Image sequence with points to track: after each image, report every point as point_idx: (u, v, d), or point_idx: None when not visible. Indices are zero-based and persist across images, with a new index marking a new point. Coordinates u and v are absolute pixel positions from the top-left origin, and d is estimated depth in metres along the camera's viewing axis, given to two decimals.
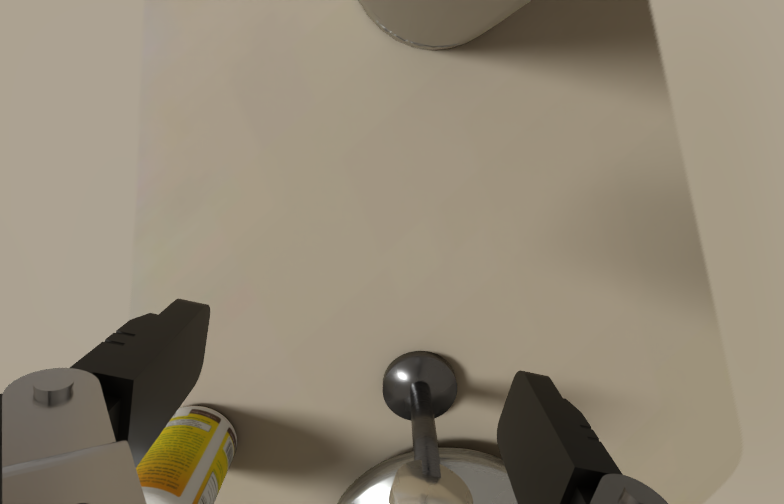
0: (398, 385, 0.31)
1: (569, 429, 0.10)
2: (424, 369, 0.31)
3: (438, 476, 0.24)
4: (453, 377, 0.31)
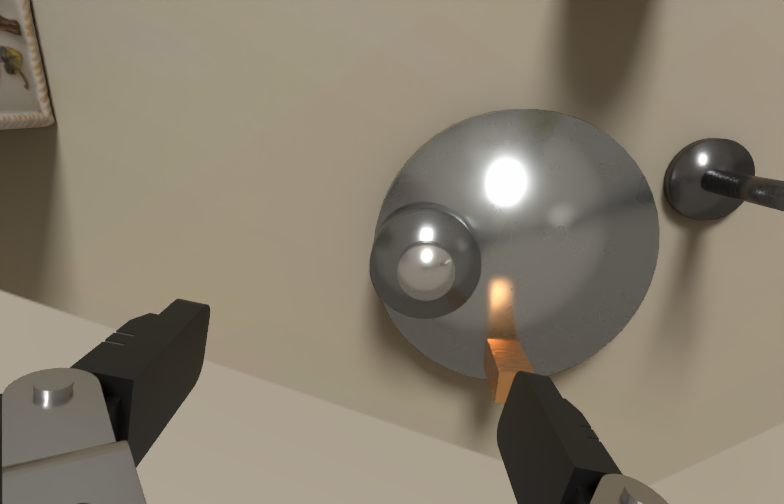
0: (718, 156, 0.28)
1: (569, 429, 0.10)
2: None
3: None
4: (728, 212, 0.29)
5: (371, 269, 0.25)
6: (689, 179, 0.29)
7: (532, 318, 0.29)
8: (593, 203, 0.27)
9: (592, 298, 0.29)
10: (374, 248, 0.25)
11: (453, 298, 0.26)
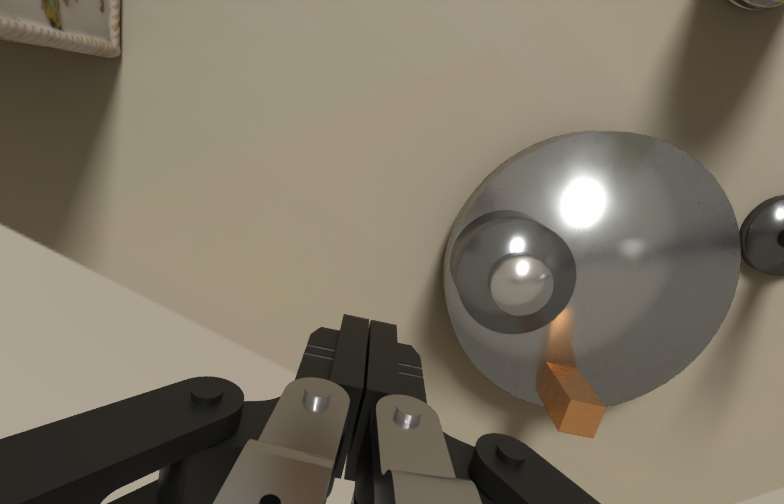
0: None
1: (384, 363, 0.10)
2: None
3: None
4: None
5: (460, 273, 0.24)
6: (767, 232, 0.29)
7: (595, 348, 0.28)
8: (682, 241, 0.27)
9: (659, 336, 0.28)
10: (469, 251, 0.23)
11: (538, 316, 0.24)
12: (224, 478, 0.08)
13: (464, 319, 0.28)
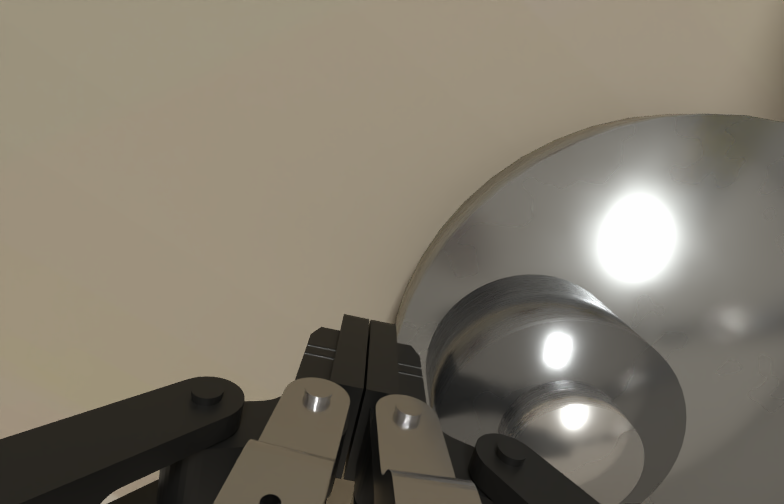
0: None
1: (384, 363, 0.10)
2: None
3: None
4: None
5: (440, 423, 0.11)
6: None
7: None
8: None
9: (778, 488, 0.16)
10: (457, 380, 0.11)
11: None
12: (224, 478, 0.08)
13: None
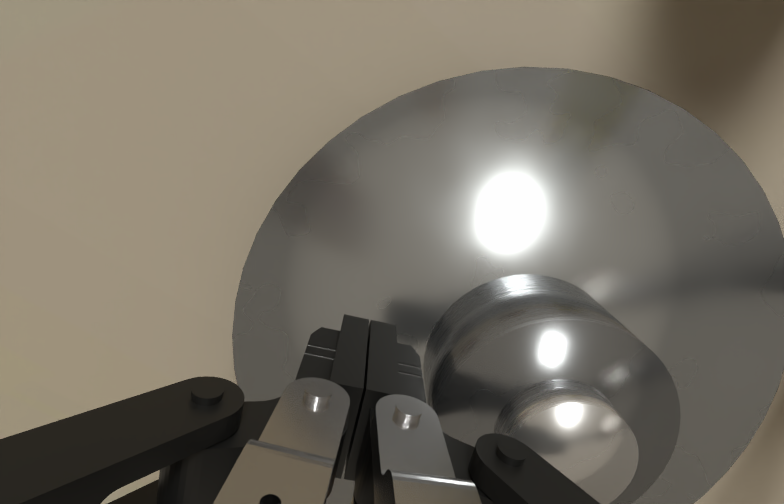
0: None
1: (384, 363, 0.10)
2: None
3: None
4: None
5: None
6: None
7: None
8: (680, 287, 0.14)
9: None
10: (455, 378, 0.11)
11: None
12: (225, 478, 0.08)
13: None
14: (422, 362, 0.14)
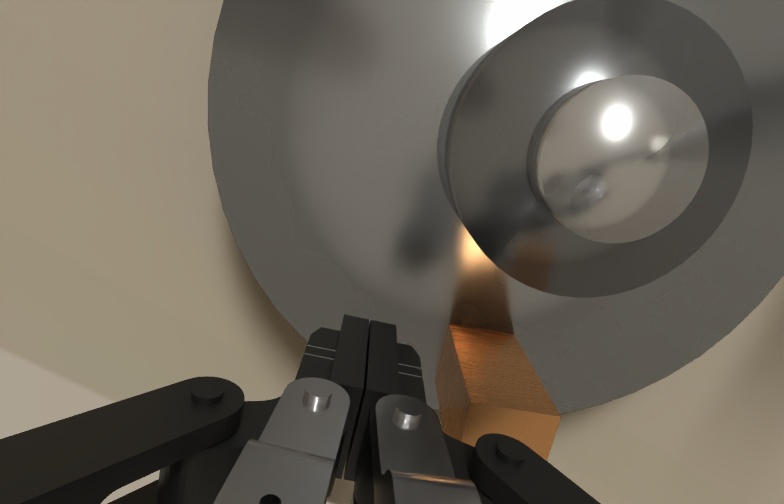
0: None
1: (384, 363, 0.10)
2: None
3: None
4: None
5: (457, 147, 0.09)
6: None
7: None
8: (725, 30, 0.12)
9: None
10: (475, 87, 0.09)
11: (652, 251, 0.10)
12: (224, 478, 0.08)
13: (265, 239, 0.13)
14: (429, 148, 0.12)
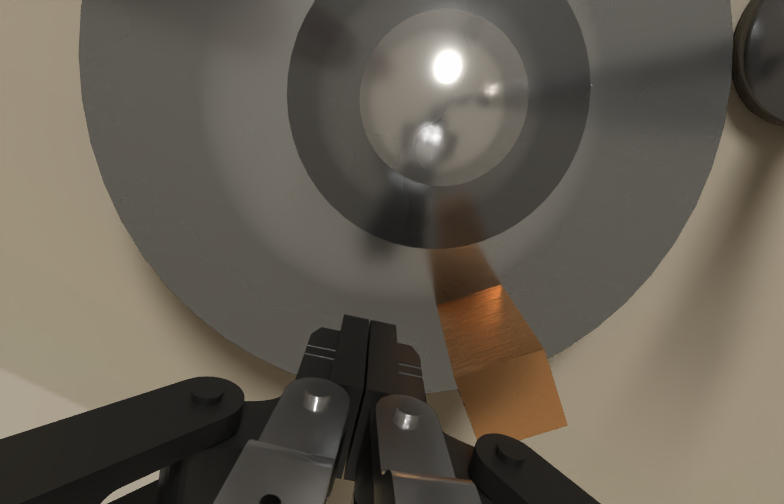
0: None
1: (383, 363, 0.10)
2: None
3: None
4: None
5: (309, 168, 0.10)
6: None
7: None
8: None
9: (615, 128, 0.13)
10: (291, 110, 0.09)
11: (542, 154, 0.10)
12: (225, 478, 0.08)
13: (241, 319, 0.14)
14: None
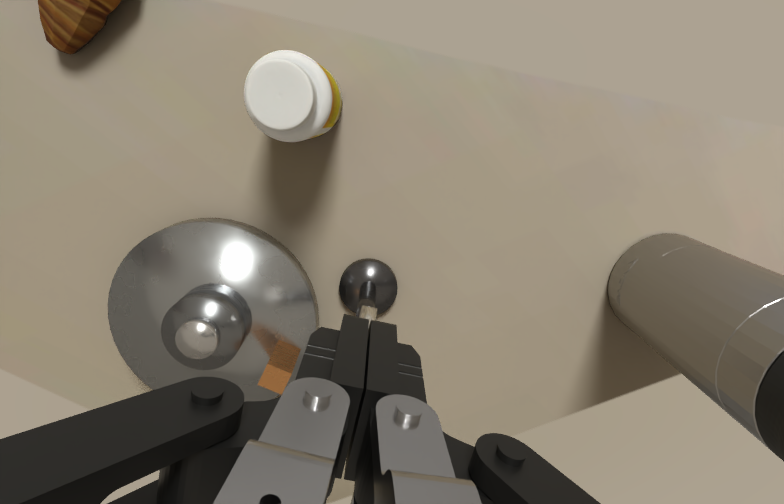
0: (371, 273, 0.40)
1: (384, 363, 0.10)
2: (386, 291, 0.41)
3: None
4: (380, 312, 0.41)
5: (191, 367, 0.36)
6: (352, 285, 0.40)
7: (264, 325, 0.39)
8: (188, 262, 0.37)
9: (261, 282, 0.38)
10: (177, 359, 0.36)
11: (229, 325, 0.35)
12: (224, 478, 0.08)
13: None
14: None
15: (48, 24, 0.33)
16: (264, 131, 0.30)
